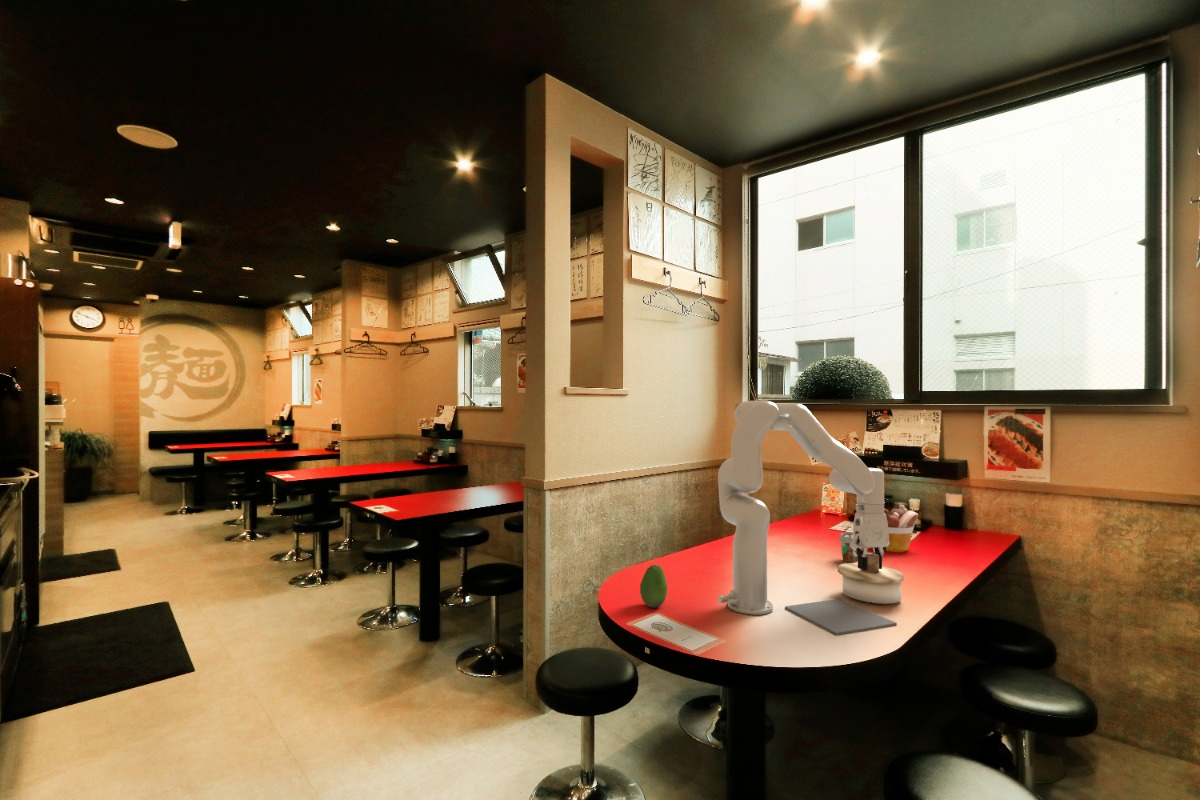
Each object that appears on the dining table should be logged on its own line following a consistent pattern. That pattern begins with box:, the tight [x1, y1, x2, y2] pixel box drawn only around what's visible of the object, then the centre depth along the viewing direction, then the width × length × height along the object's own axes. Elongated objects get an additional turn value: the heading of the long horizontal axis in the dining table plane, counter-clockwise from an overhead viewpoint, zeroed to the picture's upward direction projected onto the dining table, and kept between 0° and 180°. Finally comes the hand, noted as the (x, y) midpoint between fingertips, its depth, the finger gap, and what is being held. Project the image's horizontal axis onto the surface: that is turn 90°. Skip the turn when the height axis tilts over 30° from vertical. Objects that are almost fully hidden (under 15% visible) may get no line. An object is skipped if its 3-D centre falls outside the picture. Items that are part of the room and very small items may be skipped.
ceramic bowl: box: [842, 575, 902, 604], centre depth 166 cm, size 16×16×6 cm
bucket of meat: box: [884, 504, 919, 552], centre depth 226 cm, size 20×16×20 cm
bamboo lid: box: [837, 552, 904, 584], centre depth 167 cm, size 18×18×6 cm
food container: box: [838, 531, 858, 563], centre depth 208 cm, size 12×6×10 cm, turn 141°
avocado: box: [639, 564, 668, 608], centre depth 159 cm, size 8×8×12 cm
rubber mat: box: [784, 598, 898, 636], centre depth 151 cm, size 20×20×1 cm
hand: (869, 567), depth 166 cm, fingers closed on bamboo lid, 5 cm apart
